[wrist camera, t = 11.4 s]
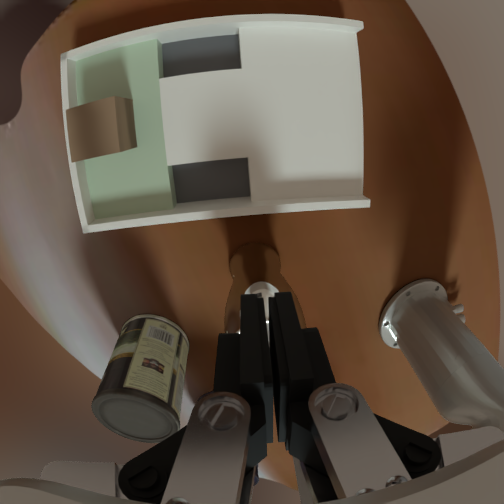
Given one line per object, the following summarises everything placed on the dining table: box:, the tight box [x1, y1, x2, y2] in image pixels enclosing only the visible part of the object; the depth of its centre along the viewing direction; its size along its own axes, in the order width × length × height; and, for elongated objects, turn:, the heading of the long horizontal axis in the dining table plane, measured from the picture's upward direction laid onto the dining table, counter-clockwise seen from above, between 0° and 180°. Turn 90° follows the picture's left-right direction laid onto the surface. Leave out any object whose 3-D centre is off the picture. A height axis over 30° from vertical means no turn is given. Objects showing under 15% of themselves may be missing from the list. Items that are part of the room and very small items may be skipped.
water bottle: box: [293, 456, 314, 504], centre depth 43 cm, size 9×8×25 cm
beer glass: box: [224, 242, 307, 341], centre depth 29 cm, size 7×7×15 cm
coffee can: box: [92, 314, 189, 443], centre depth 34 cm, size 10×10×14 cm
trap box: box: [61, 14, 370, 233], centre depth 27 cm, size 30×20×4 cm, turn 94°
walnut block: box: [66, 96, 137, 163], centre depth 24 cm, size 5×5×5 cm
